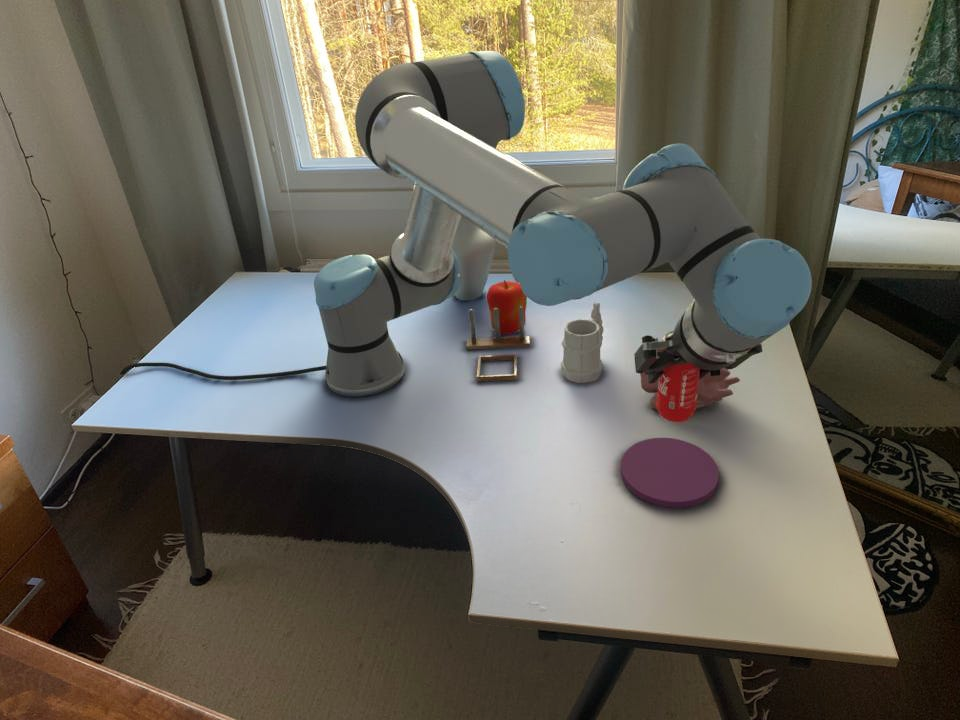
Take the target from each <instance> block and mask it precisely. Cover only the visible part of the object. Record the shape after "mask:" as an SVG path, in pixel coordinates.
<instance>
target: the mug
mask: <svg viewBox="0 0 960 720" xmlns="http://www.w3.org/2000/svg"><path fill="white" fill-rule="evenodd" d="M592 306H593V308H592V309H591V313H590V318H589V319H586V318H585V319H584V318H583V319H582V318H579V319H573V320H571V321H569V322H567V323H566V324H565V326H564V331H563V338H562V340H561V345H562V349H563V355H562V360H561V363H560V368H561V370H562V374H563V377H565V379H566V380H568V381H570V382H573V383H576V384H585V383H591V382H594V381H597V380H598V379H599V377H600V376H601V374H602V373H601V372H602V371H603V367H604V363H603V361H602V359H601V348H602V345H603V340H604V336H603V334H604V326H603V320H602V314H601V310H600V309H601V303H600V302H593V305H592Z"/></svg>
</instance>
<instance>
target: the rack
mask: <svg viewBox="0 0 960 720" xmlns="http://www.w3.org/2000/svg"><path fill="white" fill-rule="evenodd" d="M493 311H494V324H495V330H494V334H495V335H494V336H495V337H485V338H484V337H483V338H482V337H481V338H477V333H476V321H475V311H474V309H472V308H470V309H469V310H468V319H469V320H468V321H469V329H470V338H467V340H466V350H484V349H485V350H486V349H487V350H488V349H509V348H528V347H529V348H530V347H531V338H530V335H529V336H528V335H526V333H525V325H524V311H523V307H519V308H518V311H519V329H520V330H519V336H504V337H501V333H500V325H499V311H498V308H494V310H493ZM492 361H494V362H496V361H513V373H510V374H485V375H481V370H482V362H492ZM476 370H477V371H476V382H494V381H495V382H496V381H497V382H498V381H516V380H518V353H515V354H491V355H489V354H488V355H478V358H477V368H476Z"/></svg>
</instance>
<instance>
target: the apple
mask: <svg viewBox="0 0 960 720" xmlns="http://www.w3.org/2000/svg"><path fill="white" fill-rule="evenodd" d="M485 298H486V303H487V307H488V310H489V315H490V321H491V327H492V328H493V330H494V331H495V324H494V311H493V310H494V308H498V311H499V325H500V335H513V334H515V333H517V332H520V329H519V311H518V308H519V307H523V311H524V326H526V312H527V311H526V310H527V303H528V302H527V299H528V297H527V296H525V294H524V293H523V292H522V288H521V285H520V283H517V282H516V281H511V280H510V281H509V280H507V281H506V279H505V280H503V281H500V282H497V283H494V284H492V285H490V286H489V287H488V289H487V293H486V296H485Z"/></svg>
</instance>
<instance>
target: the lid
mask: <svg viewBox="0 0 960 720" xmlns="http://www.w3.org/2000/svg"><path fill="white" fill-rule="evenodd" d="M619 471H620V476H621V477H620V478H621V479H622V481H623V484H624V485H625V486H626V488H627V489H628V490H629V491H630V492H631V493H632V494H633V495H634V496H636V497H637V498H639V499H641V500H643V501H645V502H647V503H649V504H652V505H655V506H659V507H664V508H671V509H682V508H683V509H684V508H690V507H695V506H698V505H700V504H703V503H704V502H706V501H707V500H709V499H710V498H711V497H712V496H713V495H714V494H715V492H716V490H717V488H718V486H719V479H720V472H719V468H718V465H717V463H716V461H715V460H714V458H712V456H711V455H710V454H709V453H708V452H706V451H705V450H704V449H703V448H701V447H700V446H697V445H696V444H694V443H691V442H688V441H685V440H682V439H678V438H672V437H653V438H652V437H651V438H647V439H643V440H640V441H638V442H636V443H634V444H632V445H631V446H630V447H628V448H627V449H626V451H625V452H623V455H622V457H621V460H620V469H619Z"/></svg>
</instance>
